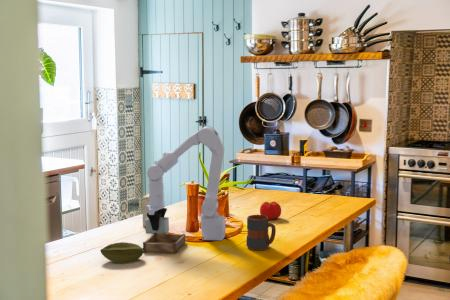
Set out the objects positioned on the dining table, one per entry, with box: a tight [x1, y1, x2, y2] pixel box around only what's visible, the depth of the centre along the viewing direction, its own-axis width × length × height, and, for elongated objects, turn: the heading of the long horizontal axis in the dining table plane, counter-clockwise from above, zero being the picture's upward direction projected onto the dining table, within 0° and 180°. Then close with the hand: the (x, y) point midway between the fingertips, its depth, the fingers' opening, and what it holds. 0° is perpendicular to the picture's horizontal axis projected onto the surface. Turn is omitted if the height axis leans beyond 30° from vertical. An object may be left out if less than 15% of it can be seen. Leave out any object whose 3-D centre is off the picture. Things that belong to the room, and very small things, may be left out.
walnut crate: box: [142, 233, 186, 255], centre depth 223 cm, size 12×13×4 cm
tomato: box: [259, 200, 282, 221], centre depth 265 cm, size 9×9×8 cm
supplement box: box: [141, 193, 149, 228], centre depth 256 cm, size 8×5×13 cm, turn 168°
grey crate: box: [145, 216, 170, 235], centre depth 236 cm, size 8×5×6 cm, turn 79°
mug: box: [246, 214, 277, 251], centre depth 220 cm, size 9×12×12 cm
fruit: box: [100, 241, 145, 264], centre depth 208 cm, size 11×12×7 cm
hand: (157, 228), depth 237 cm, fingers closed on grey crate, 5 cm apart
